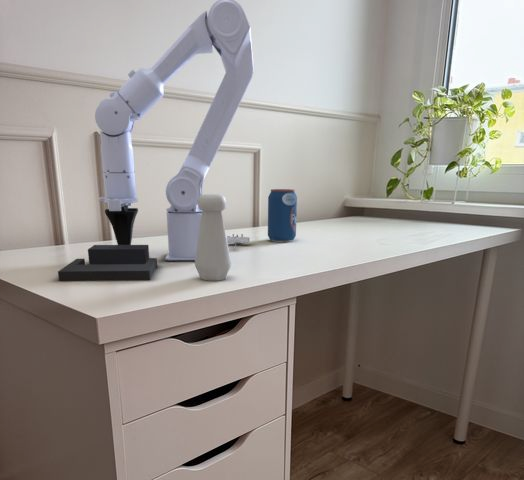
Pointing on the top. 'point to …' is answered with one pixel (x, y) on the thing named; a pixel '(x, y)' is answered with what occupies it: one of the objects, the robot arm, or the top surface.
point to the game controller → (237, 239)
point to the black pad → (107, 271)
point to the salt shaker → (212, 239)
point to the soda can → (282, 215)
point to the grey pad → (118, 254)
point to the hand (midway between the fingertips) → (124, 246)
